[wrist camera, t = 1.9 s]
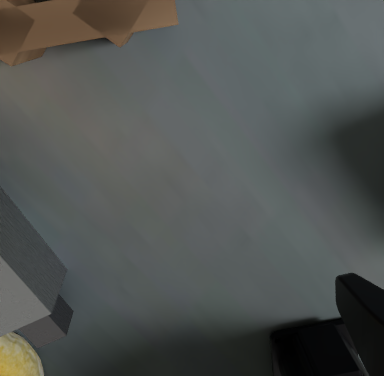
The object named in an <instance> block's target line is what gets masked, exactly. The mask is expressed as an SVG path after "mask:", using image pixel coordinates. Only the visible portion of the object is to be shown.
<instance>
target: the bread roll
mask: <svg viewBox="0 0 384 376" xmlns="http://www.w3.org/2000/svg"><path fill="white" fill-rule="evenodd" d="M0 376H44V371H43V366H42V363H41V360H40V358H39V356H38V355H37V353H36V352H35V350H34V349H33V348H32V347H31V345H30V344H29V343H28V342H27V341H26V340H25V339H24V338H23V337H21V336H20V335H18V334H16V333H14V332H10V333H7V334H5V335H3V336H1V337H0Z"/></svg>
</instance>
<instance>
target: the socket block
mask: <svg viewBox="0 0 384 376" xmlns="http://www.w3.org/2000/svg"><path fill="white" fill-rule="evenodd" d="M173 25H178V19H177V12H176V6H175V0H51V1H45V2H39V3H37V2H35V1H34V0H0V60H2V61H3V62H5V63H7V64H8V65H10V66H14V65H17V64H20V63H23V62H26V61H30V60H33V59H36V58H39V57H42V55H43V53H44V51H45V49H46V48H47V47H51V46H57V45H62V44H68V43H74V42H80V41H86V40H91V39H97V38H103V37H106V38H107V39H109V40H110V41H111V42H113V43H114V44H116V45H117V46H118V47H121V46H123V45H124V44H125V43H127V42H128V41H129V39H130V38H131V36H132V34H133V33H134V32H138V31H144V30H149V29H155V28H161V27H167V26H173Z"/></svg>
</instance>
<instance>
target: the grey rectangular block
mask: <svg viewBox="0 0 384 376" xmlns="http://www.w3.org/2000/svg"><path fill="white" fill-rule="evenodd" d="M66 272H67V268H66V267H65V266H64V265H63V263H62V262H61V261H60V260H59V258H58V257H57V256H56V255H55V253H54V252H53V251H52V250H51V248H50V247H49V246H48V245H47V243H46V242H45V241H44V240H43V238H42V237H41V236H40V235H39V233H38V232H37V231H36V230H35V229H34V227H33V226H32V225H31V224H30V222H29V221H28V220H27V219H26V217H25V216H24V215H23V214H22V212H21V211H20V210H19V209H18V207H17V206H16V205H15V204H14V202H13V201H12V200H11V199H10V197H9V196H8V195H7V194H6V192H5V191H4V190H3V189H2V187H1V186H0V337H1V336H3V335H5V334H7V333H10V332H12V331H14V330H16V329H19V330H20V331H21V332H22V333H23V334H24V335H25V336H26V337H27V338H28V339H29V340H30V341H31V342H32V343H33V344H34V345H35V346H36V347H37V348H39V347H42V346H44V345H46V344H49V343H51V342H53V341H55V340H58V339H60V338H62V337H65V336H66V335H67V332H68V328H69V325H70V321H71V318H72V315H73V310H72V309H71V308H70V307H69V305H68V304H67V303H66V302H65V301H64V300H63V298H62V297H61V296H60V295H59V292H60V289H61V286H62V283H63V281H64V278H65V275H66Z"/></svg>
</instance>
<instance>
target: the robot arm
mask: <svg viewBox="0 0 384 376" xmlns="http://www.w3.org/2000/svg"><path fill="white" fill-rule="evenodd" d="M335 288H336V305H337V308H338V311H339V313H340V315H341V317H342V319H343V320H337V321H332V322H326V323H320V324H315V325H309V326H304V327H298V328H293V329H287V330H281V331H276V332H273V333H272V334H271V335H270V344H271V356H272V367H273V376H384V290H383V289H381V288H380V287H378V286H376V285H374V284H373V283H371V282H369V281H367V280H366V279H364V278H362V277H360V276H358V275H357V274H354V273H348V274H343V275H339V276H337V277H336V280H335ZM277 338H278V339H277ZM358 354H359V356H360V358H361V361H362V363H363V364H362V363H361V361H360V359H359V357H358ZM363 365H364V366H363ZM364 367H365V368H364Z"/></svg>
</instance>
